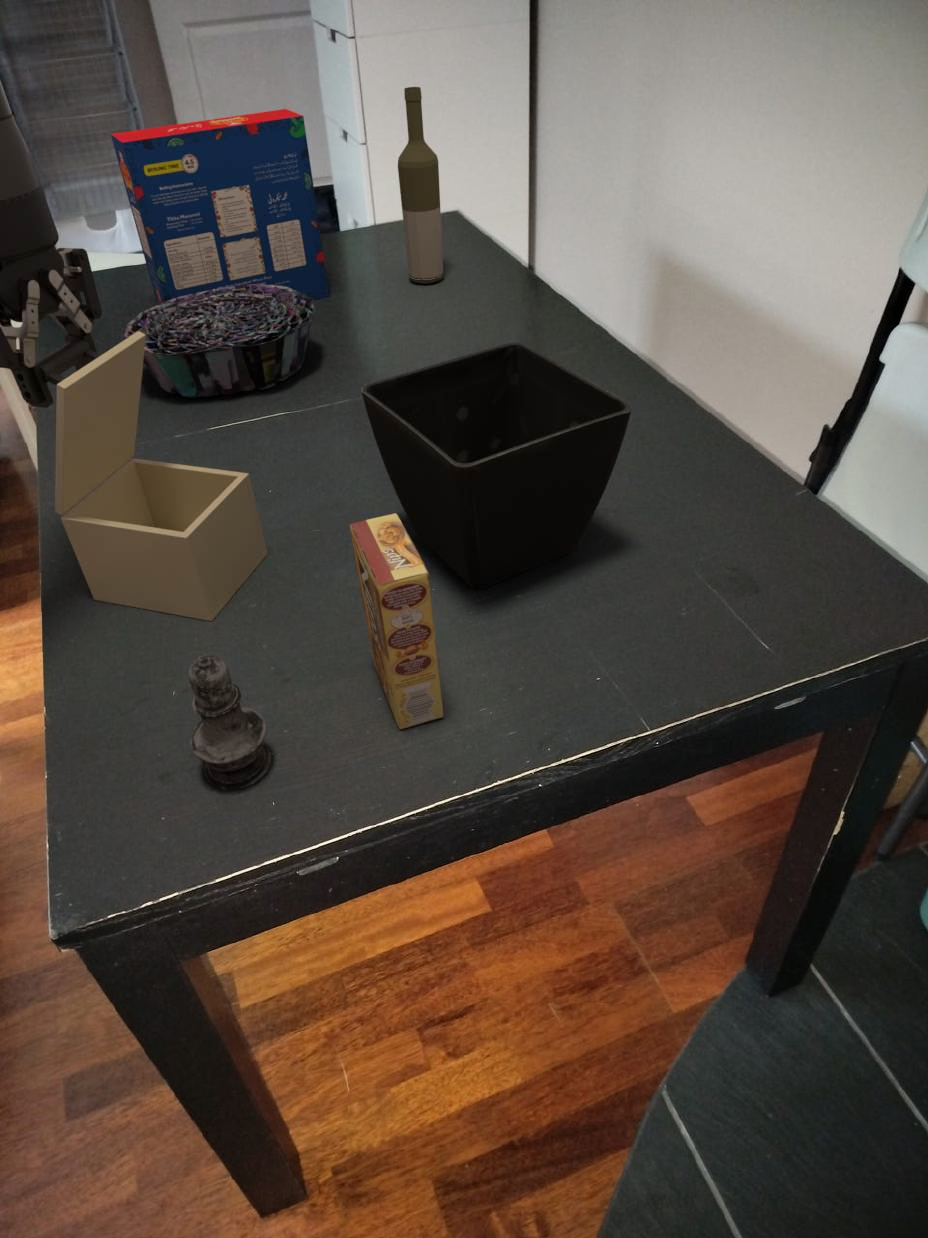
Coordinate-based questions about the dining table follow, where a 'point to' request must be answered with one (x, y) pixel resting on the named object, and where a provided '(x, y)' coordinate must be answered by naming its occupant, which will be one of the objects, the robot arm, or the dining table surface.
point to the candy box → (399, 618)
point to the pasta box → (225, 204)
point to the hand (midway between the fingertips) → (66, 388)
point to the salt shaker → (226, 728)
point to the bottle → (420, 197)
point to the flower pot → (497, 456)
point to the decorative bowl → (225, 339)
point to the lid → (93, 414)
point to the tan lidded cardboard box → (168, 537)
